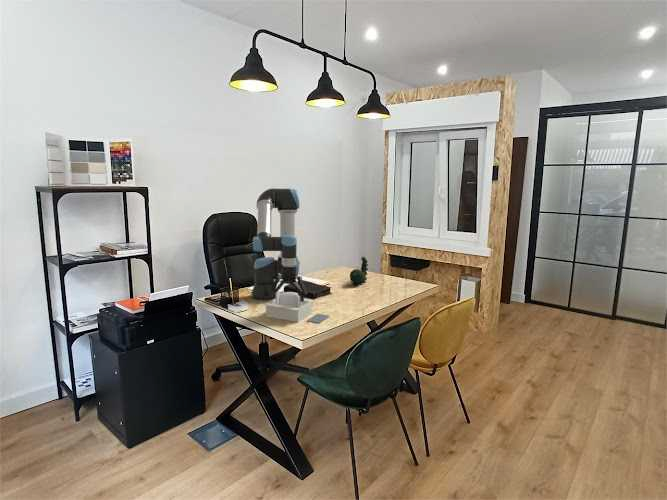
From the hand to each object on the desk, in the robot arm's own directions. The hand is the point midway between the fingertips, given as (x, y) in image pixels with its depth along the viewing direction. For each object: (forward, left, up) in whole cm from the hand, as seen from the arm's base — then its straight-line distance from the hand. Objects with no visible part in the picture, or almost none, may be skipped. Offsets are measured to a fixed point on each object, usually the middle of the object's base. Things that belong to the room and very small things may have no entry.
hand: (288, 306), depth 204 cm
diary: (-11, +42, -6) cm, 44 cm away
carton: (0, 0, -5) cm, 5 cm away
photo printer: (0, 0, -5) cm, 5 cm away
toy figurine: (+9, +79, -5) cm, 80 cm away
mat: (+16, +2, -5) cm, 17 cm away
